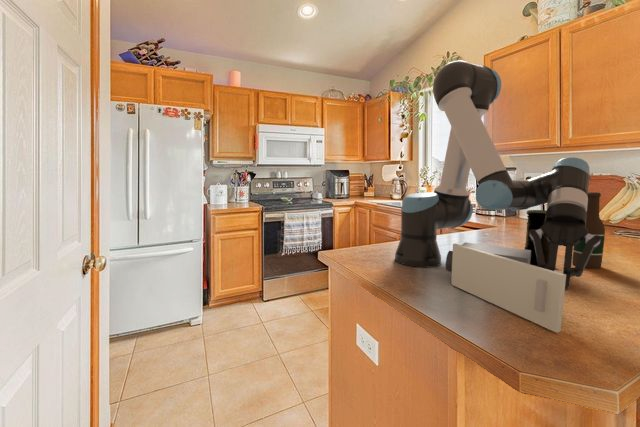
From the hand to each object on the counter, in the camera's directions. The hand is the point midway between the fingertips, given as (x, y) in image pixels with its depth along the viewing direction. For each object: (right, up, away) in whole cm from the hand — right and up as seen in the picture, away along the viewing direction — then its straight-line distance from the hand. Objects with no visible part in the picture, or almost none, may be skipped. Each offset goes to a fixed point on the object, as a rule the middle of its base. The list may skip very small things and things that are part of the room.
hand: (555, 301), depth 63 cm
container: (+24, +1, +39) cm, 46 cm away
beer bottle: (+40, +1, +39) cm, 55 cm away
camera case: (-3, -1, +21) cm, 21 cm away
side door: (-8, -3, +8) cm, 12 cm away
